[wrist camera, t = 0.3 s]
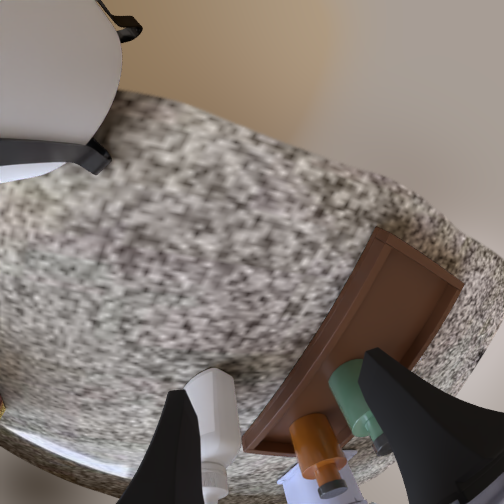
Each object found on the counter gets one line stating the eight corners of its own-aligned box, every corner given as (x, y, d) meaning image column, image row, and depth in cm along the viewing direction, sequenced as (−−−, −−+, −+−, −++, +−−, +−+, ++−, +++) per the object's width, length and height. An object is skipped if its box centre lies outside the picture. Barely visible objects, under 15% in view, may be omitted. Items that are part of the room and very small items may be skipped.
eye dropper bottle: (165, 379, 22) (150, 502, 10) (225, 361, 22) (240, 493, 10) (189, 409, 23) (188, 522, 12) (244, 393, 23) (266, 511, 12)
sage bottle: (353, 395, 25) (390, 460, 16) (319, 389, 24) (354, 464, 15) (378, 362, 24) (426, 426, 15) (345, 354, 23) (393, 428, 14)
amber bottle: (314, 438, 26) (337, 500, 18) (280, 435, 25) (300, 504, 17) (336, 414, 25) (367, 479, 17) (302, 410, 24) (330, 484, 16)
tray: (326, 445, 28) (331, 457, 26) (241, 437, 25) (243, 452, 23) (451, 276, 23) (465, 284, 21) (375, 226, 20) (390, 232, 18)
